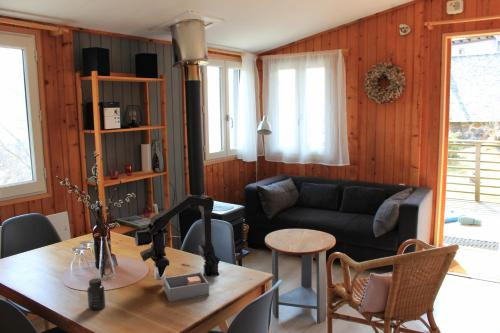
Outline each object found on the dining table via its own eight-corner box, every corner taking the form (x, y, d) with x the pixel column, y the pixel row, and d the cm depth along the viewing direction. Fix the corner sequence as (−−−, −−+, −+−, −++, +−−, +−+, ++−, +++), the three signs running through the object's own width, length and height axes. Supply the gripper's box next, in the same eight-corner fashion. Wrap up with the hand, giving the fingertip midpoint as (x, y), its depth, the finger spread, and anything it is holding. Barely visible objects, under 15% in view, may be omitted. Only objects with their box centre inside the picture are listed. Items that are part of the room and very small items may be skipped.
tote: (200, 283, 209) (200, 272, 208) (209, 295, 196) (208, 282, 195) (163, 289, 202) (163, 277, 201) (169, 302, 190) (169, 289, 189)
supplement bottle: (90, 304, 188) (89, 277, 187) (107, 303, 189) (105, 276, 187) (86, 311, 182) (84, 284, 180) (103, 310, 182) (101, 283, 181)
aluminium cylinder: (163, 275, 212) (163, 261, 211) (166, 278, 207) (165, 264, 206) (153, 276, 210) (152, 262, 209) (155, 280, 205) (155, 266, 204)
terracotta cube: (198, 286, 204) (197, 276, 203) (201, 290, 199) (200, 280, 198) (187, 288, 202) (187, 277, 201) (190, 292, 197) (189, 281, 196)
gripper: (138, 239, 212) (139, 270, 214) (143, 251, 194) (145, 284, 197) (161, 236, 216) (162, 267, 218) (169, 247, 198) (170, 281, 201)
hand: (159, 274), depth 208 cm, fingers closed on aluminium cylinder, 5 cm apart
